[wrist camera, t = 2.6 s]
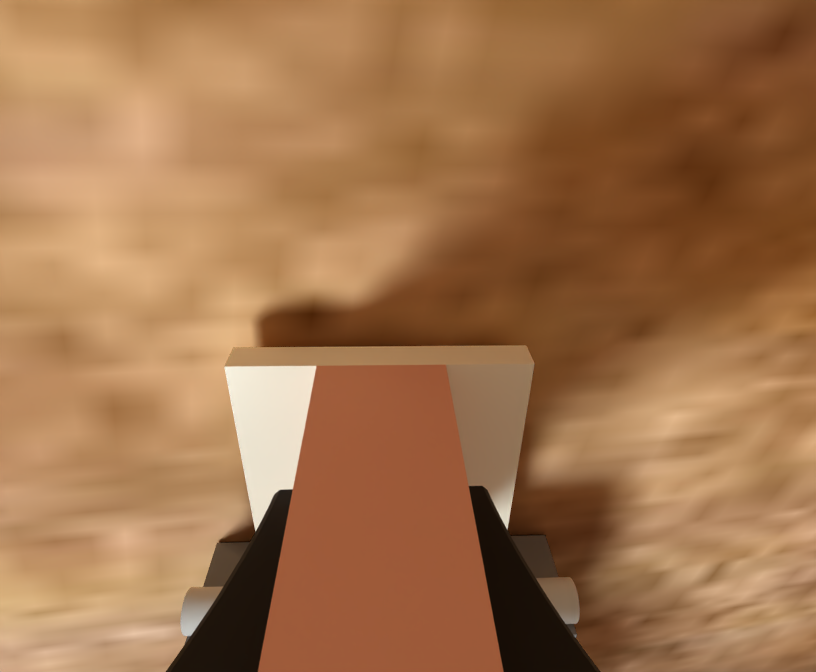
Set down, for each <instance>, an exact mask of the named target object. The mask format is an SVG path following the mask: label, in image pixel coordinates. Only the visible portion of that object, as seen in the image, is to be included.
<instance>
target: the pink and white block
mask: <svg viewBox="0 0 816 672" xmlns="http://www.w3.org/2000/svg"><path fill="white" fill-rule="evenodd" d="M534 365H535V364H534V361H533V359H532V357H531V355H530V352H529V350H528V348H527V346H526V345H501V346H365V347H233V349H232V351H231V353H230V356H229V358H228V360H227V362H226V364H225V366H224V367H225V372H226V378H227V383H228V388H229V394H230V399H231V404H232V410H233V415H234V420H235V426H236V431H237V436H238V442H239V447H240V452H241V458H242V463H243V468H244V474H245V479H246V484H247V490H248V495H249V500H250V506H251V511H252V516H253V522H254V527H255V532H256V530H257V528H258V526H259V524H260V523H261V521H262V519H263V517H264V515H265V513H266V511H267V509H268V507H269V505H270V502H271V500H272V498H273V496H274V494H275V493H276V492H278V491H279V490H285V489H293V491H292V496H291V502H290V507H289V512H288V517H287V522H286V528H285V533H284V538H283V543H282V548H281V554H280V559H279V564H278V569H277V574H276V580H275V585H274V590H273V595H272V600H271V606H270V611H269V616H268V621H267V626H266V632H265V637H264V642H263V647H262V652H261V658H260V663H259V668H258V672H503V666H502V661H501V656H500V650H499V645H498V640H497V634H496V629H495V624H494V619H493V613H492V608H491V603H490V597H489V592H488V587H487V581H486V576H485V571H484V565H483V560H482V555H481V549H480V544H479V539H478V533H477V528H476V523H475V517H474V512H473V507H472V501H471V496H470V491H469V486H483V487H485V488H486V489H487V490H488V492H489V494H490V497H491V499H492V501H493V503H494V505H495V507H496V509H497V511H498V513H499V515H500V517H501V519H502V521H503V523H504V525H505V526H506V528H507V530H508V524H509V518H510V511H511V505H512V499H513V493H514V487H515V481H516V475H517V469H518V462H519V456H520V450H521V444H522V438H523V432H524V426H525V420H526V413H527V407H528V401H529V395H530V389H531V383H532V377H533V371H534Z"/></svg>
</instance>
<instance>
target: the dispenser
mask: <svg viewBox="0 0 816 672" xmlns="http://www.w3.org/2000/svg"><path fill="white" fill-rule="evenodd" d="M511 537H512V539H513V541H514V543H515V544H516V546H517V548H518V550H519V551H520V553H521V555H522V556H523V558H524V560H525V562H526V563H527V565H528V567H529V568H530V570H531V571H532V573H533V574H534V576H535V578H536V579H537V581H538V582H539V584H540V586H541V587H542V589H543V590H544V592H545V593H546V595H547V597H548V598H549V600H550V601H551V603H552V604H553V606H554V607H555V609H556V610H557V612H558V613H559V615H560V616H561V618H562V619H563V621H564V622H565V624H566V625H567V626H568V628H569V629H570V631H571V632H572V633H573V635H574V636H575V638H576V636H577V633H576V630H575V627H574V624H577V623H578V621H579V616H580V606H579V598H578V593H577V589H576V586H575V584H574V582H573V580H572V579H571V578H570V577H558V573H557V570H556V567H555V564H554V561H553V558H552V555H551V552H550V548H549V545H548V542H547V539H546V536H545V535H531V536H511ZM249 543H250V542H235V543H217V545H216V548H215V551H214V554H213V558H212V561H211V564H210V567H209V570H208V573H207V576H206V580H205V583H204V586H203V587H191V588H190V589H189V590H188V592H187V593H186V596H185V599H184V602H183V606H182V612H181V631H182V634H183V635H184V636H187V639H186V642H187V641H188V639H189V638H190V636H191V635H192V634H193V632H194V631H195V629H196V628H197V626H198V625H199V623H200V622H201V620H202V619H203V617H204V616H205V614H206V613H207V611H208V610H209V609H210V607H211V605H212V604H213V602H214V601H215V599H216V598H217V596H218V594H219V593H220V591H221V590H222V588H223V586H224V585H225V583H226V581H227V580H228V578H229V577H230V575H231V573H232V572H233V570H234V568H235V567H236V565H237V563H238V562H239V560H240V559H241V557H242V555H243V553H244V552H245V550H246V548H247V546H248V544H249ZM186 642H185V644H186Z"/></svg>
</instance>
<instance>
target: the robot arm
mask: <svg viewBox="0 0 816 672" xmlns="http://www.w3.org/2000/svg"><path fill="white" fill-rule="evenodd" d="M292 491H293V489H285V490H279V491H278V492H276V493H275V494H274V496H273V498H272V500H271V502H270V505H269V507H268V509H267V511H266V513H265V515H264V517H263V519H262V521H261V523H260V524H259V526H258V528H257V530H256V532H255V534H254V536H253V537H252V539H251V541H250V543H249V544H248V546H247V548H246V550H245V552H244V553H243V555H242V557H241V559H240V560H239V562H238V563H237V565H236V567H235V568H234V570H233V572H232V573H231V575H230V577H229V578H228V580H227V581H226V583H225V585H224V586H223V588H222V590H221V591H220V593H219V594H218V596H217V598H216V599H215V601H214V602H213V604H212V605H211V607H210V609H209V610H208V611H207V613H206V614H205V616H204V617H203V619H202V620H201V622H200V623H199V625H198V626H197V628H196V629H195V631H194V632H193V634H192V635H191V636H190V638H189V639H188V641H187V642H186V644H185V645H184V647H183V648H182V650H181V651H180V653H179V654H178V655H177V657H176V658H175V660H174V661H173V662H172V664H171V665H170V667H169V668H168V669H167V671H166V672H258V668H259V663H260V658H261V652H262V647H263V642H264V637H265V632H266V626H267V621H268V616H269V611H270V606H271V600H272V595H273V590H274V585H275V580H276V574H277V569H278V564H279V559H280V554H281V548H282V543H283V538H284V533H285V528H286V522H287V517H288V512H289V507H290V502H291V496H292ZM469 491H470V496H471V501H472V507H473V512H474V517H475V523H476V528H477V533H478V539H479V544H480V549H481V555H482V560H483V565H484V571H485V576H486V581H487V587H488V592H489V597H490V603H491V608H492V613H493V619H494V624H495V629H496V634H497V640H498V645H499V650H500V656H501V661H502V666H503V672H600V671H599V669H598V668H597V667H596V665H595V664H594V663H593V661H592V660H591V659H590V657H589V656H588V655H587V653H586V652H585V650H584V649H583V648H582V646H581V645H580V643H579V642H578V641H577V639H576V638H575V636H574V635H573V633H572V632H571V631H570V629H569V628H568V626H567V625H566V624H565V622H564V621H563V619H562V618H561V616H560V615H559V613H558V612H557V610H556V609H555V607H554V606H553V604H552V603H551V601H550V600H549V598H548V597H547V595H546V593H545V592H544V590H543V589H542V587H541V586H540V584H539V582H538V581H537V579H536V578H535V576H534V574H533V573H532V571H531V570H530V568H529V567H528V565H527V563H526V562H525V560H524V558H523V556H522V555H521V553H520V551H519V550H518V548H517V546H516V544H515V543H514V541H513V539H512V537H511V535H510V534H509V532H508V530H507V528H506V526H505V525H504V523H503V521H502V519H501V517H500V515H499V513H498V511H497V509H496V507H495V505H494V503H493V501H492V499H491V497H490V494H489V492H488V490H487V489H486V488H485V487H483V486H469Z"/></svg>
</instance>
